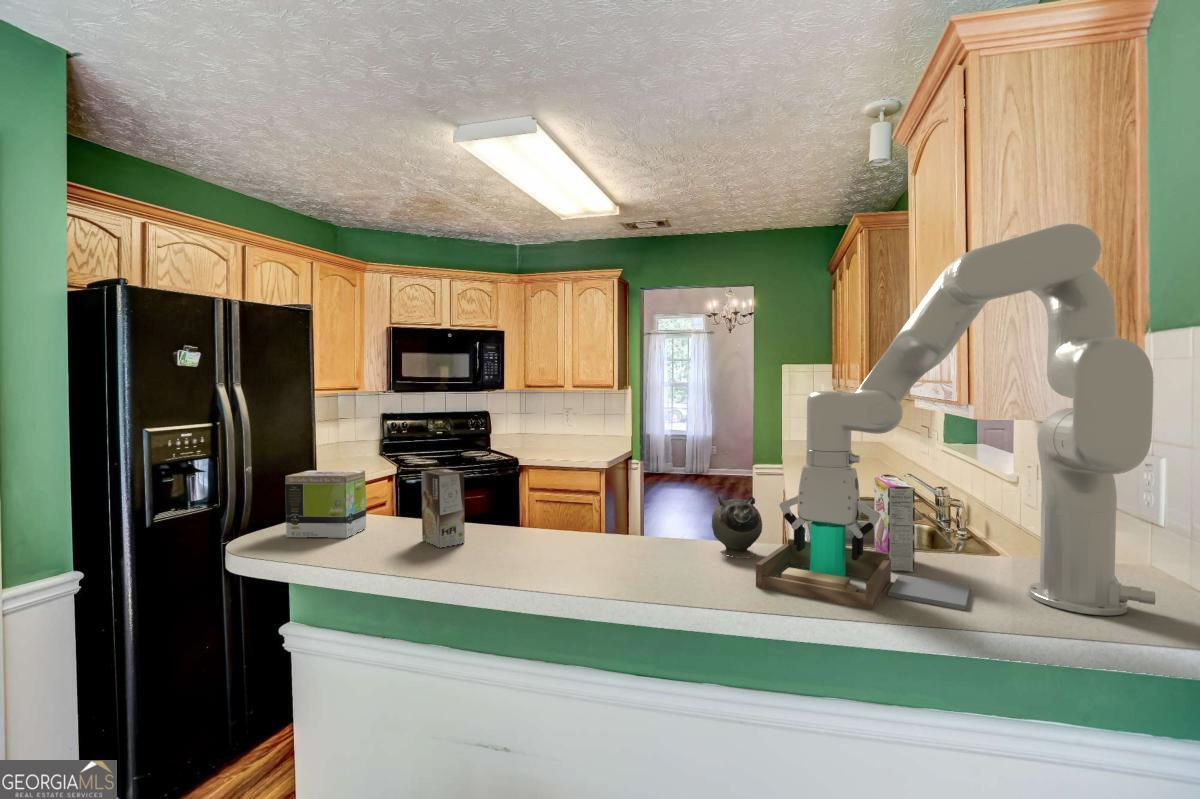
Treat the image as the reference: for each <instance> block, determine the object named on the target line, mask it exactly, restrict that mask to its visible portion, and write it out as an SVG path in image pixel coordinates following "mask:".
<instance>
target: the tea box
mask: <svg viewBox="0 0 1200 799" xmlns="http://www.w3.org/2000/svg"><path fill="white" fill-rule="evenodd" d="M284 483H285V485H284V486H285V490H284V491H285V526H286V527H285V528H286V531H285V532H286V538H307V537H328V538H327V539H331V538H332V539H348V538H350V537H349V536H351V535H353V534H355V533H357V532H359V531H360V530H362V529H365V528H366V529H367V501H366V500H367V497H366V495H367V494H366V470H360V469H359V470H357V469H356V470H354V469H353V470H305V471H301V472H298V473H292V474H288V475H285V482H284ZM366 529H365V530H366ZM359 533H360V532H359ZM357 534H358V533H357ZM355 535H356V534H355ZM353 536H354V535H353ZM347 537H348V538H347ZM351 537H352V536H351Z"/></svg>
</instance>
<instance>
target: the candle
mask: <svg viewBox="0 0 1200 799" xmlns="http://www.w3.org/2000/svg"><path fill="white" fill-rule="evenodd" d="M809 525H810V526H809V527H810V529H809V530H810V531H809V535H810V536H809V541H810V568H809V571H812V572H818V573H824V574H830V575H836V576H841V577H846V574H845V553H846V547H847V546H846V545H847V544H846V538H847V537H846V534H847V533H846V531H847V529H846V527H847V526H844V525H835V524H827V523H819V522H812V521H810V524H809Z"/></svg>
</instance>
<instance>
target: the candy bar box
mask: <svg viewBox="0 0 1200 799" xmlns="http://www.w3.org/2000/svg"><path fill="white" fill-rule="evenodd" d="M873 481H874V482H873V484H874V485H873V486H874V489H873V490H874V498H873V499H874V503H873V504H874V506H873V507H874V508H873V509H874V510H875V511H877V512H879V513H880V514H881V517H880V518H879V520H878V522H877V523H876V525H875V526H874V528H873V530H874V533H873V534H874V536H873V537H874V540H873V541H874V550H873V551H879V552H885V553H888V559H891V572H899V573H915V552H916V551H915V550H916V549H915V533H916V532H915V527H916V526H915V525H916V524H915V522H916V521H915V520H916V519H915V517H916V516H915V515H916V514H915V512H916V511H915V510H916V509H915V503H916V502H915V499H916V498H915V497H916V495H915V494H916V493H915V492H916V491H915V490H916V487H915V486H913V485H910V483H908V482H905V481H904V480H902V479H901V478H899V477H887V476H886V477H882V476H878V477H874V478H873Z"/></svg>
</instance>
